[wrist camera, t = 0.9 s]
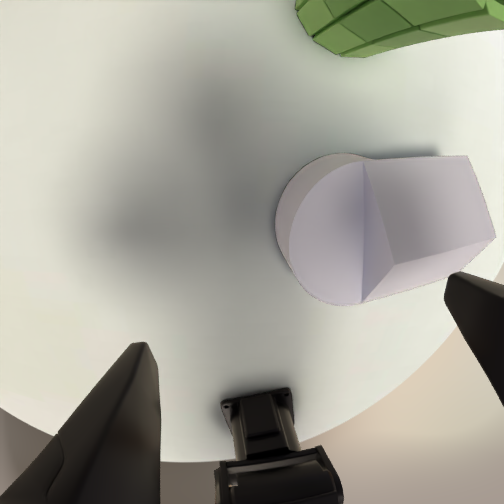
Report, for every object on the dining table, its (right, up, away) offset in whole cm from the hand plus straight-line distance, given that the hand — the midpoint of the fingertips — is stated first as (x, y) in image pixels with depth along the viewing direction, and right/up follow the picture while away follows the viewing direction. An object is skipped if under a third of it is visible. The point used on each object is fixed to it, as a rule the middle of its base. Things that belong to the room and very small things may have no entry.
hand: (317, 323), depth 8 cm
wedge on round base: (+6, +4, +12) cm, 14 cm away
